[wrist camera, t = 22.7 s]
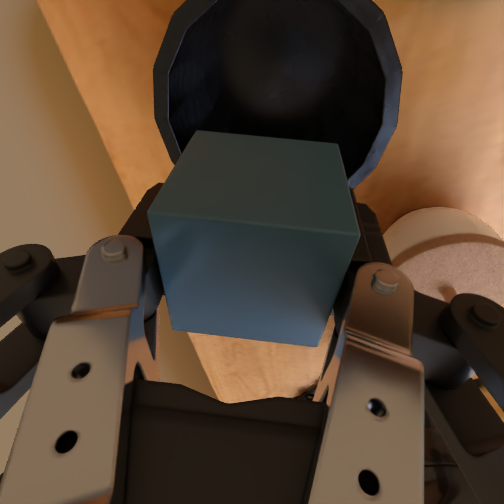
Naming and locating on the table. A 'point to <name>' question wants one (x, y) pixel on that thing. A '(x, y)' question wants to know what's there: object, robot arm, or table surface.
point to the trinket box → (448, 253)
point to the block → (254, 237)
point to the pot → (281, 75)
